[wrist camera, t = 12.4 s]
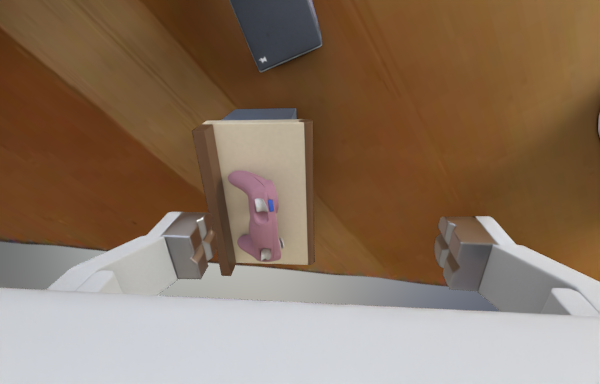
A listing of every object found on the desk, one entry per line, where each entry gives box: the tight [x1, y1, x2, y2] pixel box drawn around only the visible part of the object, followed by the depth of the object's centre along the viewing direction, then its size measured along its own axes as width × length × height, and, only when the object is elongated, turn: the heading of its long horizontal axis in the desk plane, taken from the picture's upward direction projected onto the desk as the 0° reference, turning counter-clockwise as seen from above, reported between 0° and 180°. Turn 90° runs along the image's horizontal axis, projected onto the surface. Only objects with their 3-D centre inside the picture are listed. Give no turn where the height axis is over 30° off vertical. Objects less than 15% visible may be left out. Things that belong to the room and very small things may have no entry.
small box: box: [229, 0, 322, 72], centre depth 28 cm, size 11×6×10 cm, turn 21°
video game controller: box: [228, 170, 284, 262], centre depth 31 cm, size 10×5×7 cm, turn 1°
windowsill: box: [192, 108, 315, 276], centre depth 37 cm, size 11×18×12 cm, turn 2°
